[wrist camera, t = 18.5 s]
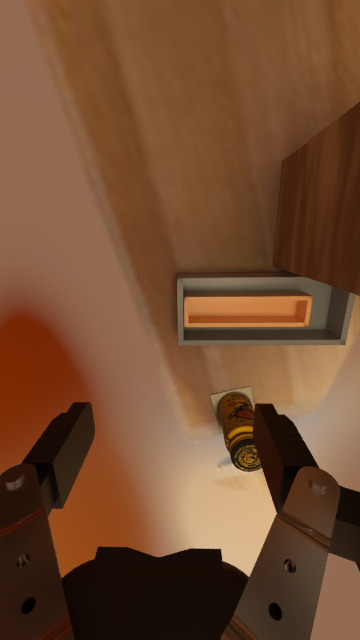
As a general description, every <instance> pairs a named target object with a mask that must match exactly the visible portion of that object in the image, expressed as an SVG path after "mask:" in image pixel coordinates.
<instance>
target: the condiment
mask: <svg viewBox="0 0 360 640" xmlns="http://www.w3.org/2000/svg"><path fill="white" fill-rule="evenodd" d="M211 399H212V403H213V407H214V411H215V414H216V418H217V422H218V426H219V430H220V433H222V432H223V434H224V440H225V444H226V447H227V450H228V451H229V453H230V455H231V460H232V462H233V464H234V466H235V467H236V468H238V469H240V470H242V471H247V472H250V471H251V472H252V471H256V470H259V469H261V468H262V466H261V463H260V460H259V457H258V454H257V451H256V448H255V445H254V441H253V420H254V410H255V406H254V401H253V397H252V392H251V387H246V388H241V389H236V390H231V391H227V392H222V393H219V394H214V395H211Z"/></svg>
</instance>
